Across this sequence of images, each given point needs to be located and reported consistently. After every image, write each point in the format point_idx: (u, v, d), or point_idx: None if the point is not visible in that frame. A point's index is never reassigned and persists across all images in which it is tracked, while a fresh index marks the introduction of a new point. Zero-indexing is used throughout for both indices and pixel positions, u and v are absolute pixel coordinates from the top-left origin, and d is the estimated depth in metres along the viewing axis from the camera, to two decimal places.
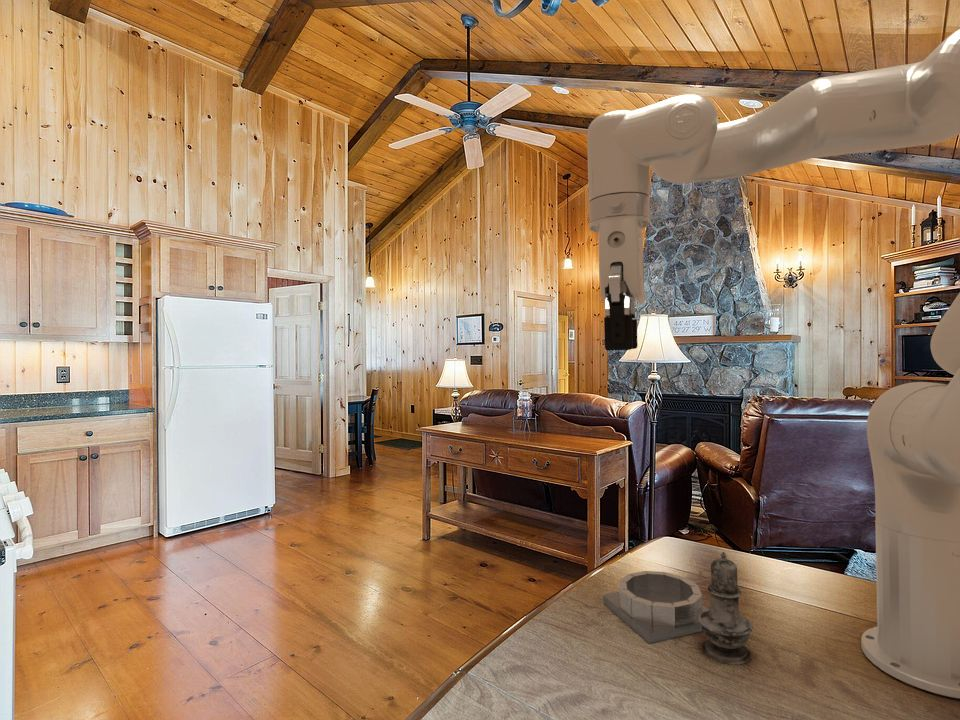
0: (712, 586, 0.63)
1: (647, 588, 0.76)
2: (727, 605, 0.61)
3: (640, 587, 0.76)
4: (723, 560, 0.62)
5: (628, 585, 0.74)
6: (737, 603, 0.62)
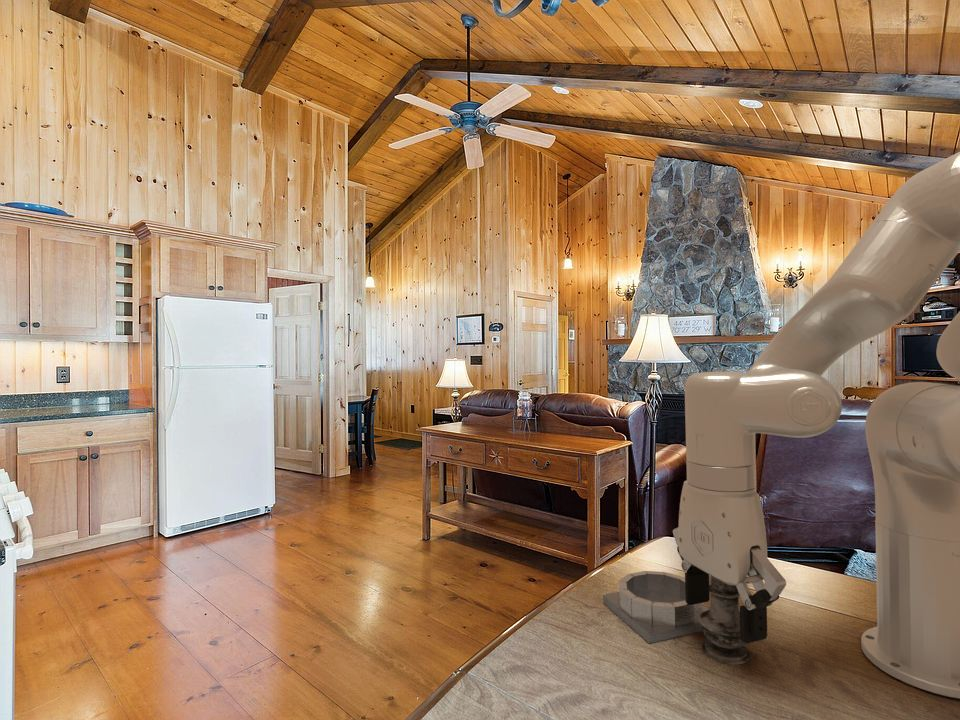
0: (712, 586, 0.63)
1: (647, 588, 0.76)
2: (727, 605, 0.61)
3: (640, 587, 0.76)
4: None
5: (628, 585, 0.74)
6: (737, 603, 0.62)
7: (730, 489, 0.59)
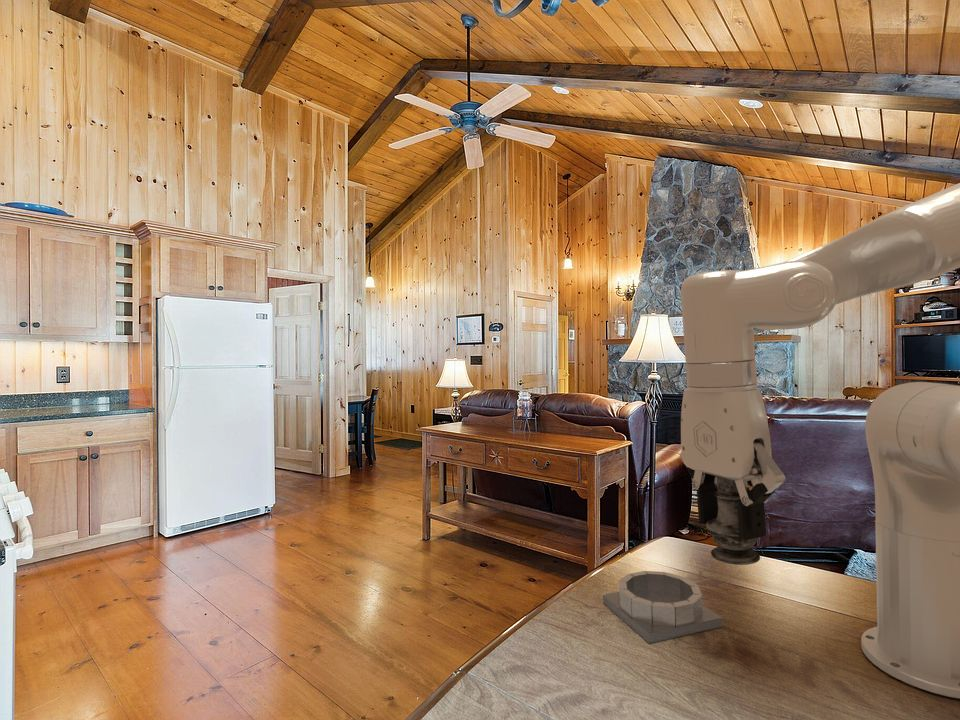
0: (718, 490, 0.62)
1: (647, 588, 0.76)
2: (734, 507, 0.61)
3: (640, 587, 0.76)
4: None
5: (628, 585, 0.74)
6: None
7: (731, 384, 0.58)
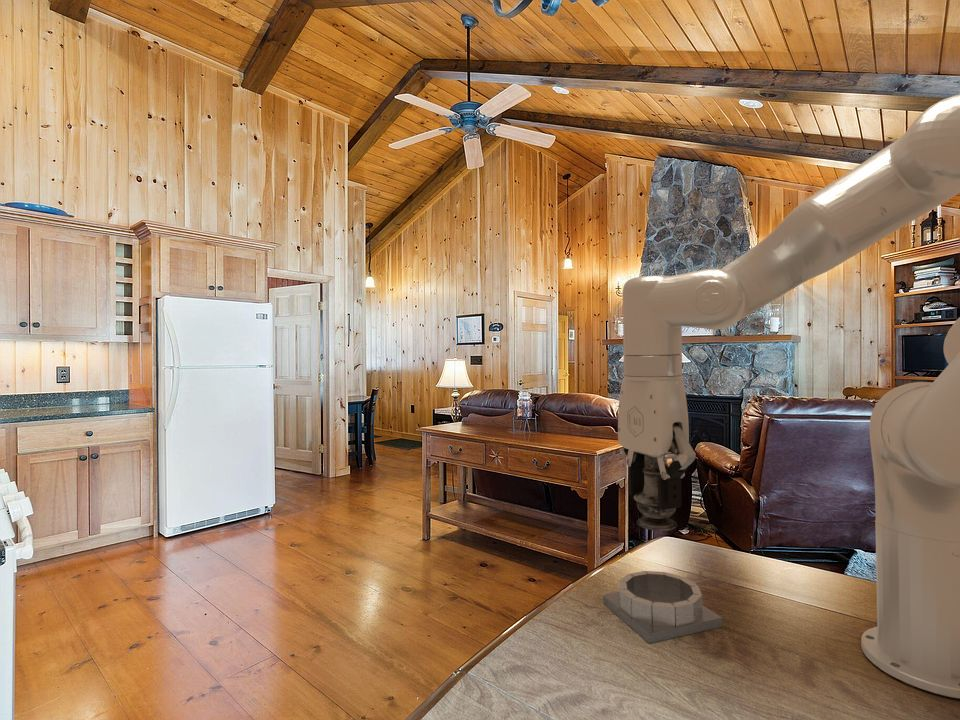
0: (645, 467, 0.71)
1: (647, 588, 0.76)
2: (657, 481, 0.70)
3: (640, 587, 0.76)
4: None
5: (628, 585, 0.74)
6: None
7: (657, 374, 0.67)
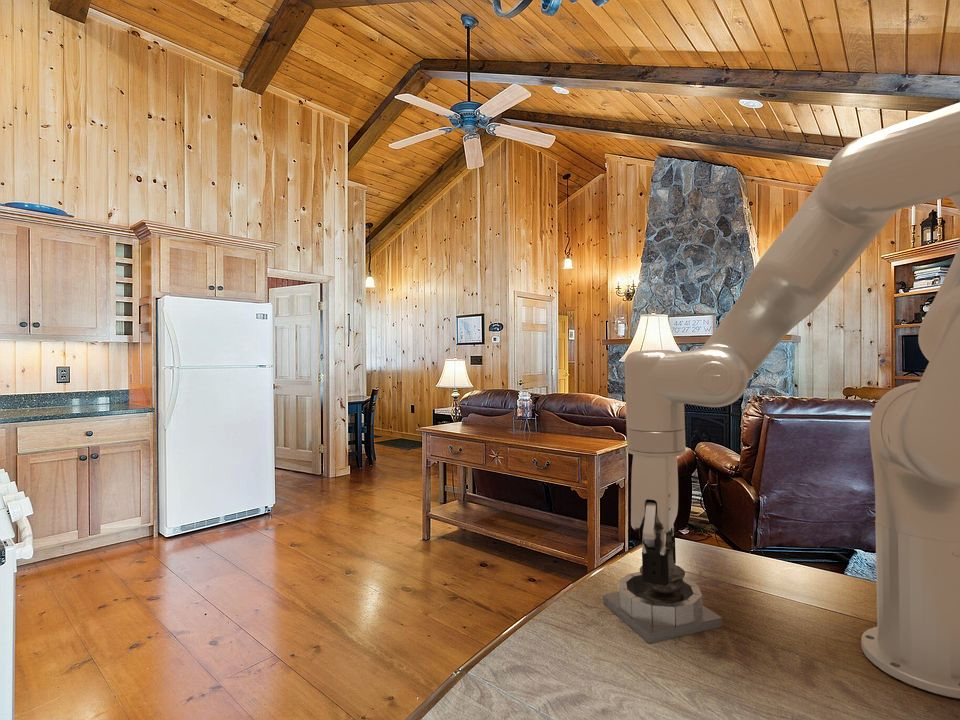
0: None
1: (647, 588, 0.76)
2: None
3: (640, 587, 0.76)
4: None
5: (628, 585, 0.74)
6: None
7: (638, 449, 0.69)
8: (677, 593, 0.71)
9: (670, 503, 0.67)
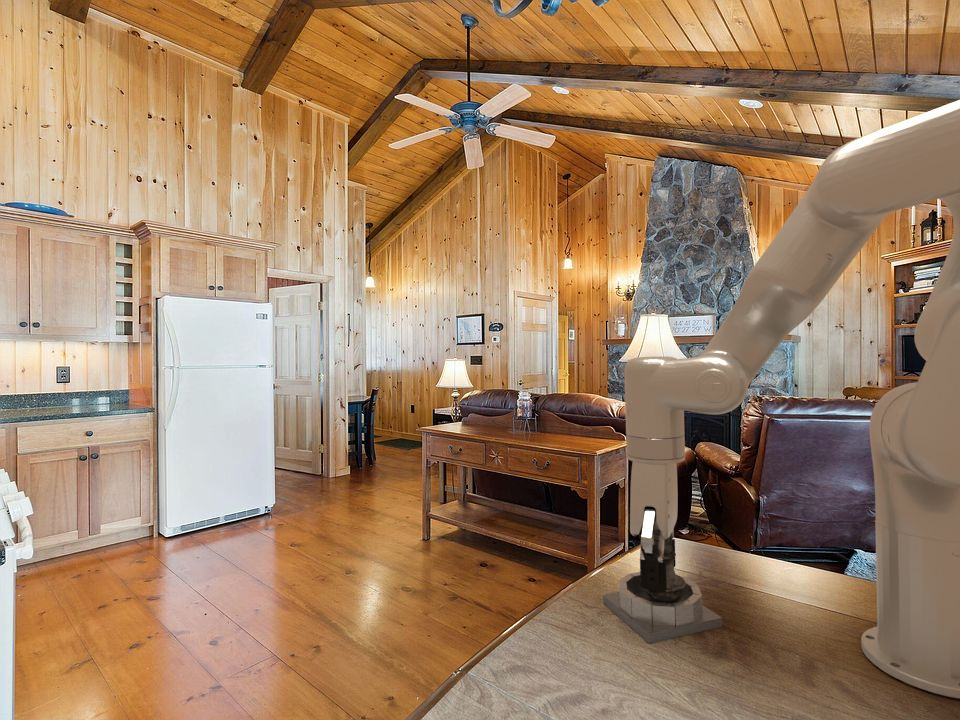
0: None
1: None
2: None
3: (640, 587, 0.76)
4: None
5: (628, 585, 0.74)
6: None
7: (638, 456, 0.69)
8: None
9: (669, 510, 0.67)
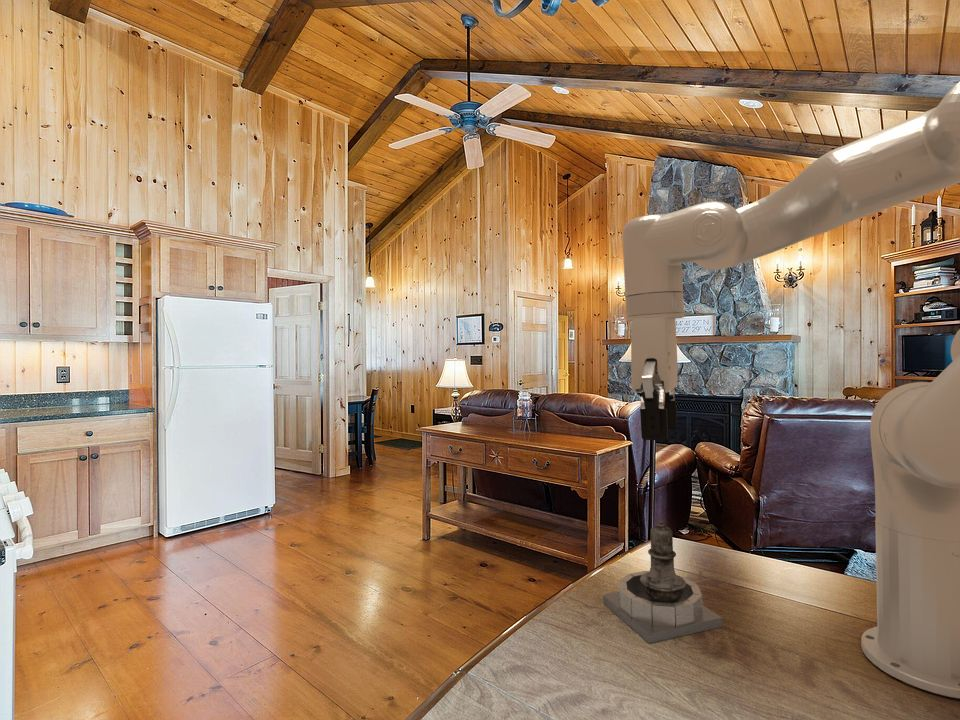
0: None
1: None
2: (655, 563, 0.71)
3: (640, 587, 0.76)
4: (658, 525, 0.71)
5: (628, 585, 0.74)
6: (666, 565, 0.70)
7: (637, 313, 0.69)
8: None
9: (670, 362, 0.68)
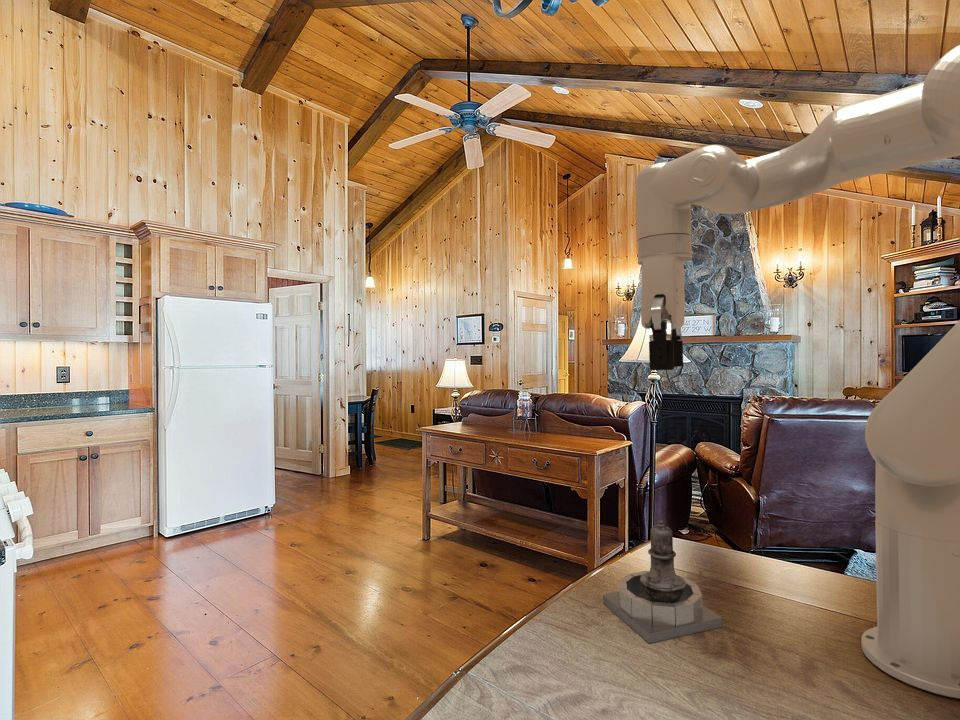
0: None
1: None
2: (655, 563, 0.71)
3: (640, 587, 0.76)
4: (658, 525, 0.71)
5: (628, 585, 0.74)
6: (666, 565, 0.70)
7: (648, 253, 0.75)
8: None
9: (677, 298, 0.73)
